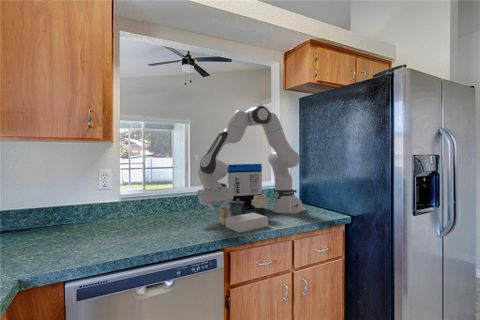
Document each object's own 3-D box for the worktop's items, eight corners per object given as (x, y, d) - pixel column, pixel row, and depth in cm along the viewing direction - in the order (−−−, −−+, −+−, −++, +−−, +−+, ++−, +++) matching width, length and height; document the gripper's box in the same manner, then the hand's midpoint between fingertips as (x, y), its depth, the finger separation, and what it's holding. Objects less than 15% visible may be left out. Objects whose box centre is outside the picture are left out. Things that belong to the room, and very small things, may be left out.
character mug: (265, 216, 160) (265, 194, 160) (271, 218, 154) (271, 196, 153) (248, 218, 155) (248, 195, 155) (254, 221, 149) (254, 197, 149)
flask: (229, 216, 160) (229, 198, 159) (231, 215, 162) (231, 197, 162) (244, 218, 156) (243, 199, 155) (246, 217, 158) (245, 199, 158)
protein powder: (264, 208, 182) (264, 164, 181) (230, 211, 174) (230, 164, 173) (259, 205, 191) (258, 163, 190) (226, 208, 183) (225, 164, 182)
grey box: (253, 221, 148) (253, 212, 148) (268, 226, 138) (268, 216, 138) (225, 226, 138) (225, 217, 138) (239, 232, 128) (238, 222, 128)
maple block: (225, 222, 147) (225, 207, 147) (229, 223, 144) (229, 208, 144) (219, 223, 145) (219, 208, 145) (223, 225, 142) (223, 209, 141)
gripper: (197, 186, 147) (205, 207, 139) (229, 184, 158) (238, 203, 151) (193, 193, 151) (202, 214, 143) (225, 190, 162) (234, 209, 154)
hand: (221, 208), depth 147 cm, fingers open, 8 cm apart
